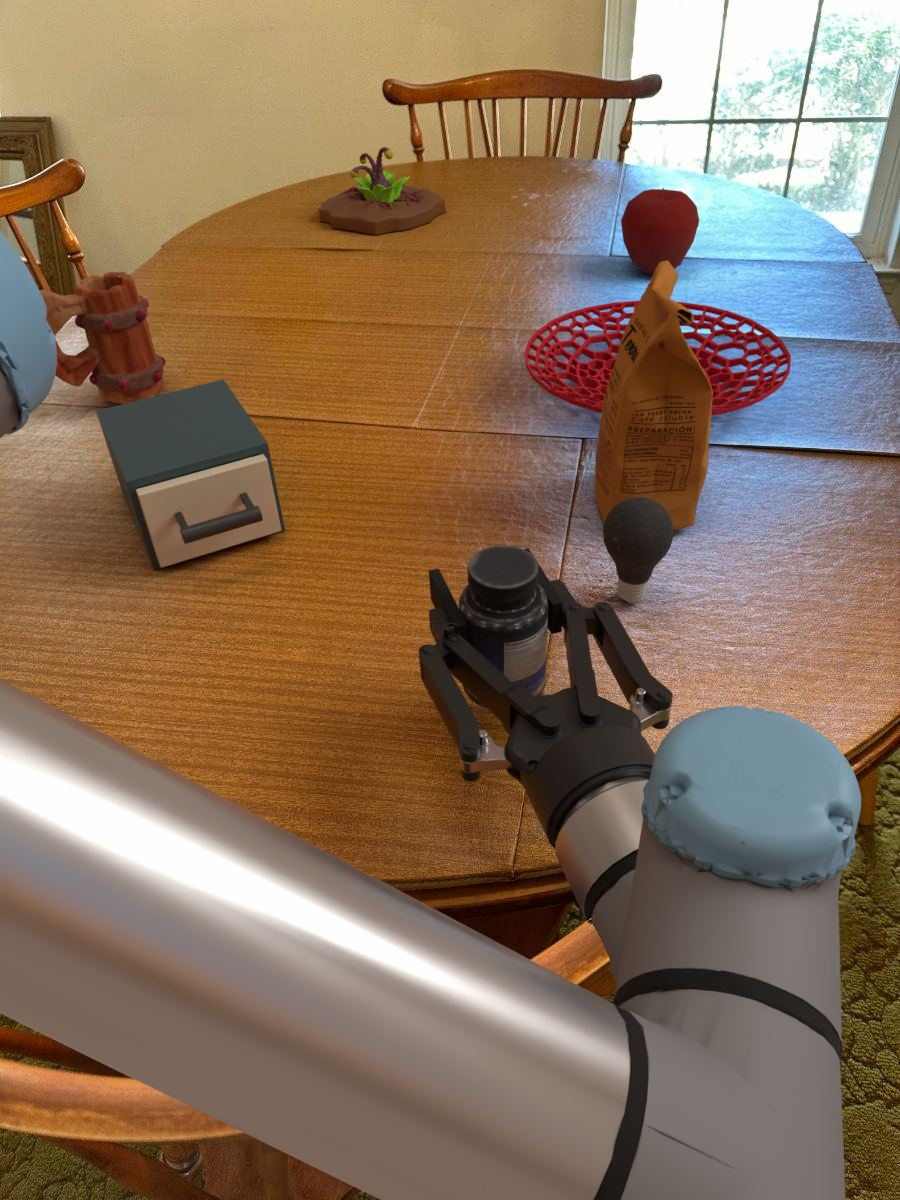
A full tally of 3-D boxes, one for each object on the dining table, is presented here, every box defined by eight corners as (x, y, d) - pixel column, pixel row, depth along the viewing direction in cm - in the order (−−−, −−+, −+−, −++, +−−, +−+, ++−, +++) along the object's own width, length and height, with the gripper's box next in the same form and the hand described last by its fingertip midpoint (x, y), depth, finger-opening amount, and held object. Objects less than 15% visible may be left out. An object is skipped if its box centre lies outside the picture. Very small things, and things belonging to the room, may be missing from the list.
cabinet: (285, 531, 90) (267, 442, 84) (154, 571, 86) (125, 481, 80) (242, 462, 101) (223, 378, 95) (123, 495, 97) (95, 410, 91)
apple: (604, 267, 139) (608, 184, 132) (663, 253, 143) (671, 172, 135) (646, 290, 132) (653, 204, 124) (708, 275, 135) (719, 190, 127)
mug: (156, 372, 119) (124, 254, 109) (186, 393, 114) (155, 271, 104) (45, 411, 112) (0, 289, 103) (71, 436, 107) (27, 309, 98)
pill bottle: (448, 673, 69) (440, 555, 62) (518, 645, 71) (519, 527, 64) (488, 727, 65) (484, 606, 58) (562, 695, 67) (567, 575, 60)
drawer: (296, 554, 86) (281, 481, 81) (171, 593, 82) (148, 519, 77) (241, 466, 98) (226, 398, 93) (131, 497, 95) (109, 428, 90)
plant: (380, 242, 153) (373, 169, 145) (303, 220, 163) (293, 151, 156) (463, 210, 163) (460, 140, 156) (385, 191, 174) (379, 125, 167)
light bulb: (607, 574, 83) (614, 478, 76) (670, 586, 81) (683, 489, 75) (590, 613, 79) (597, 515, 72) (657, 627, 77) (669, 528, 71)
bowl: (642, 489, 93) (646, 445, 90) (474, 383, 112) (473, 344, 109) (840, 401, 105) (850, 359, 101) (657, 319, 124) (660, 281, 121)
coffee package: (691, 469, 95) (720, 252, 81) (702, 541, 86) (738, 310, 72) (593, 467, 96) (605, 254, 82) (593, 538, 87) (607, 310, 73)
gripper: (450, 908, 51) (357, 642, 68) (759, 815, 55) (597, 585, 72) (443, 825, 46) (345, 560, 64) (782, 729, 50) (603, 504, 67)
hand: (479, 574), depth 68 cm, fingers closed on pill bottle, 6 cm apart
